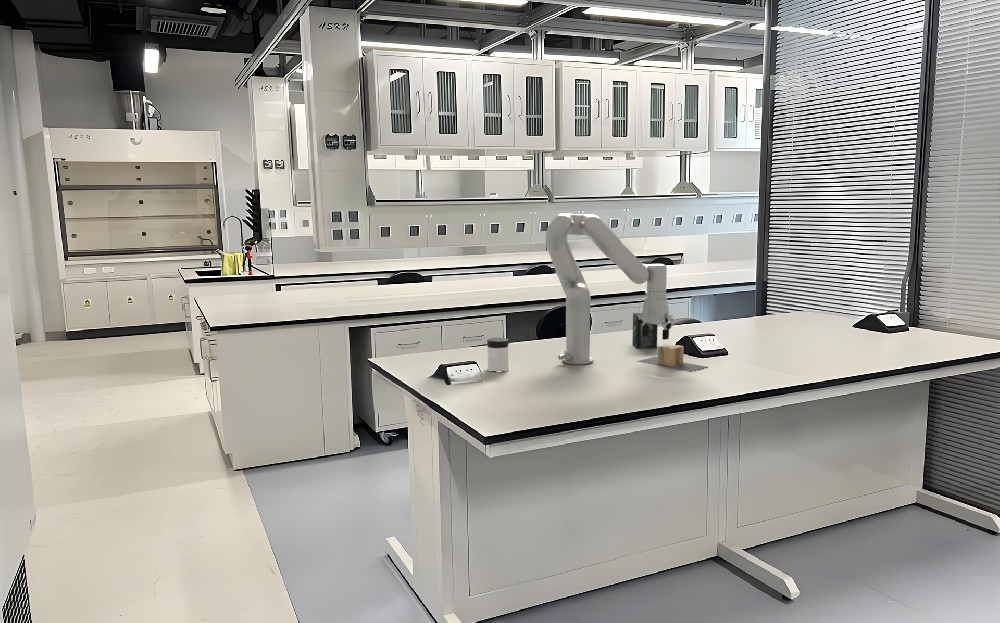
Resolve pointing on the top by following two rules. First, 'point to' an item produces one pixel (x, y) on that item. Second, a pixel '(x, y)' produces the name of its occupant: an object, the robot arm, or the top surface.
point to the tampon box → (638, 338)
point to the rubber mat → (683, 367)
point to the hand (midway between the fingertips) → (655, 337)
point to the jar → (497, 354)
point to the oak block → (670, 355)
